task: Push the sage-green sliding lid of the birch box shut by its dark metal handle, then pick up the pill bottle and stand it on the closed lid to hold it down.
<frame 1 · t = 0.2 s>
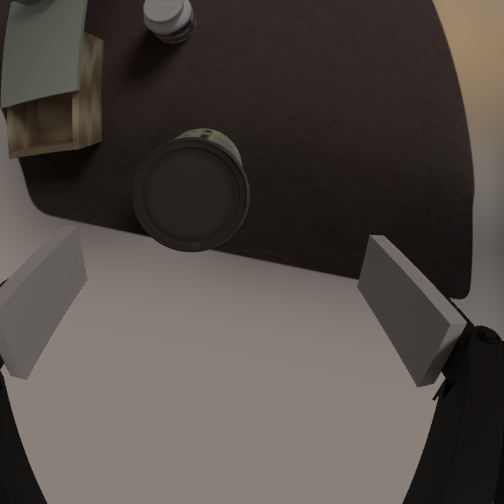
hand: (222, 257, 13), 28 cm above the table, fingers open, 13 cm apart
lid: (33, 39, 21), point 9 cm above the table, slide at 7.0 cm
box: (66, 95, 32), on the table
pill bottle: (175, 26, 30), on the table
coffee can: (202, 167, 39), on the table
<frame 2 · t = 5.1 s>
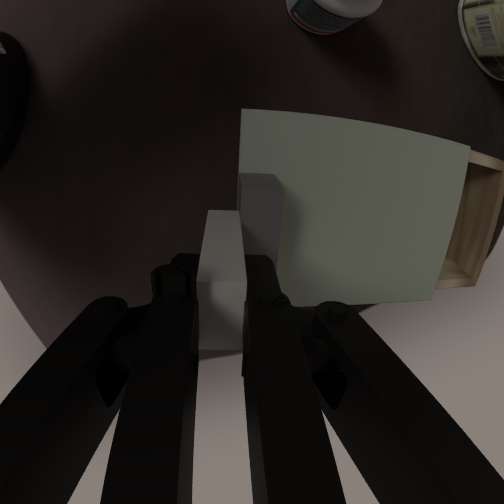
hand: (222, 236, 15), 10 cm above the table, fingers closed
lid: (371, 230, 16), point 9 cm above the table, slide at 6.4 cm, touching gripper
box: (392, 192, 25), on the table
pill bottle: (317, 7, 18), on the table
coffee can: (489, 34, 18), on the table
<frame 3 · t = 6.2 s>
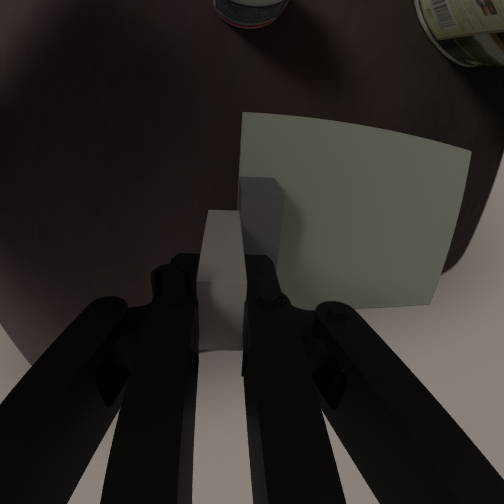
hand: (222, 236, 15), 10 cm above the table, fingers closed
lid: (371, 234, 16), point 9 cm above the table, slide at 0.9 cm, touching gripper
pill bottle: (248, 1, 18), on the table
coffee can: (454, 17, 18), on the table
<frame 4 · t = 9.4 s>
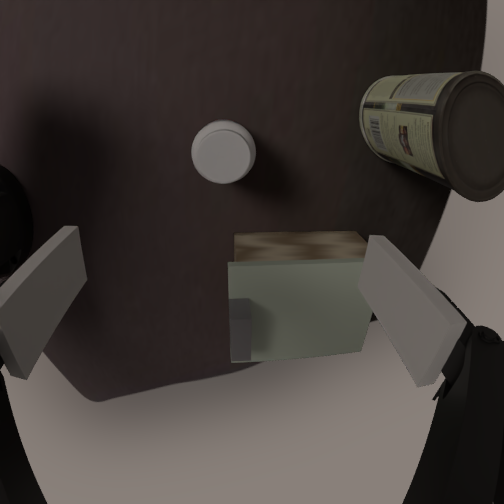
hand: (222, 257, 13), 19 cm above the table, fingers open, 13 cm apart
lid: (308, 323, 29), point 9 cm above the table, slide at 0.5 cm
box: (294, 274, 37), on the table
pill bottle: (223, 144, 30), on the table
coffee can: (398, 118, 30), on the table
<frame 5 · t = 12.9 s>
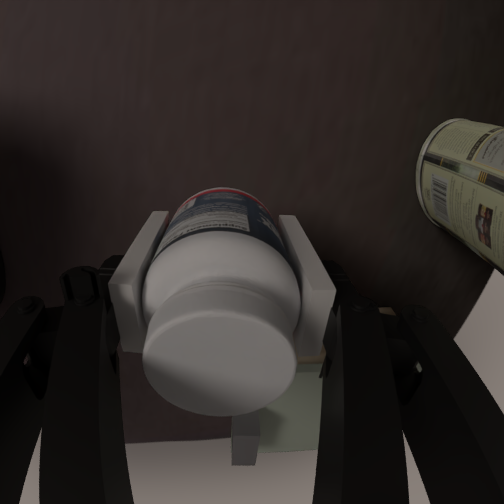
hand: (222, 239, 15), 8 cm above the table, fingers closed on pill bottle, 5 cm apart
lid: (325, 428, 21), point 9 cm above the table, slide at 0.5 cm
box: (312, 352, 30), on the table
pill bottle: (223, 235, 16), point 8 cm above the table, touching gripper
coffee can: (458, 174, 22), on the table
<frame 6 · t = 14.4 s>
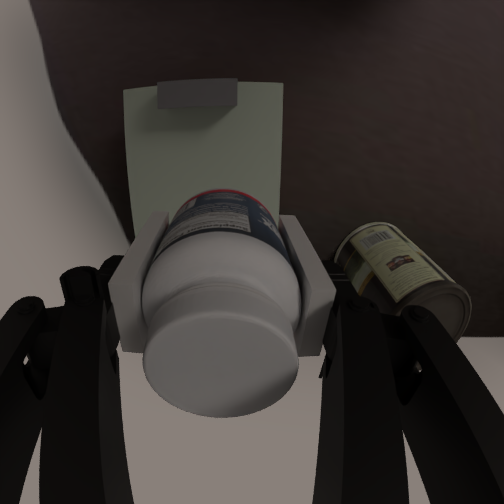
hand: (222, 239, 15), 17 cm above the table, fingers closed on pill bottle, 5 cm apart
lid: (201, 183, 22), point 9 cm above the table, slide at 0.5 cm
pill bottle: (223, 236, 16), point 17 cm above the table, touching gripper
coffee can: (371, 259, 37), on the table
when the fingers open (9 cm above the table, at t = 16.3 s): pill bottle stays where it is, resting on lid.
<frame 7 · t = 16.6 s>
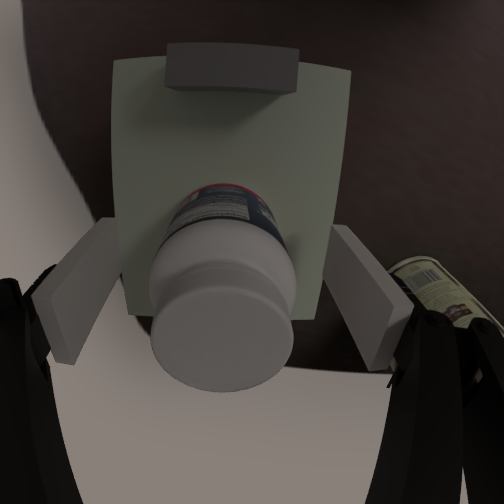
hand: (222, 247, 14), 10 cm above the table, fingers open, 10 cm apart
lid: (223, 208, 15), point 9 cm above the table, slide at 0.5 cm, touching pill bottle
pill bottle: (224, 227, 16), point 8 cm above the table, touching lid
coffee can: (406, 298, 30), on the table
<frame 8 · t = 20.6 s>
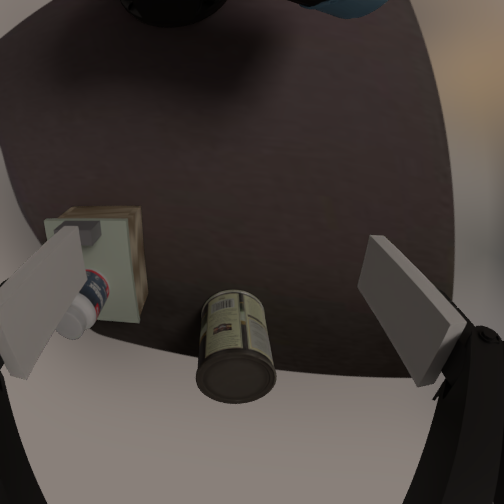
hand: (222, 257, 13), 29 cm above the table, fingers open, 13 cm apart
lid: (87, 278, 35), point 9 cm above the table, slide at 0.5 cm, touching pill bottle
box: (110, 250, 44), on the table
pill bottle: (93, 283, 37), point 8 cm above the table, touching lid
coffee can: (233, 314, 50), on the table
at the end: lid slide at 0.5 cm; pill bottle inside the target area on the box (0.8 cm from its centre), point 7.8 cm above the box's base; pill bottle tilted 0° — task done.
